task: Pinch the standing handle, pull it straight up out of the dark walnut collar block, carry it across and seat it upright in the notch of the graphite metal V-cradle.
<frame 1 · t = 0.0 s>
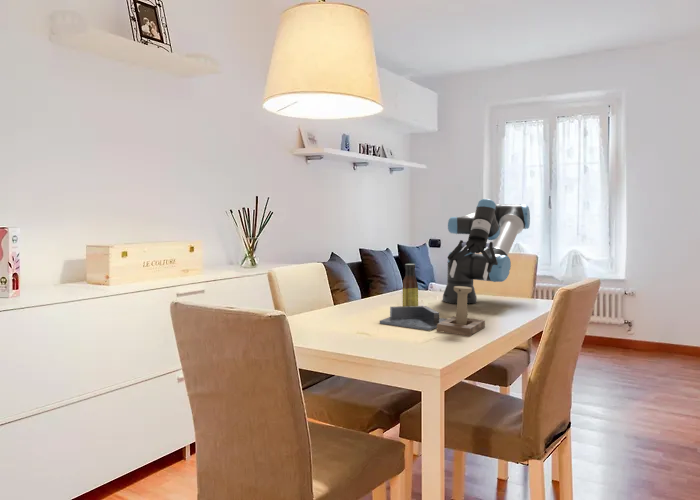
hand: (467, 277, 226), 15 cm above the table, tool tilted 35°, fingers open, 13 cm apart
sauce bottle: (409, 313, 230), on the table
walnut collar: (461, 329, 203), on the table
v cradle: (414, 322, 212), on the table
handle: (461, 329, 203), resting in walnut collar
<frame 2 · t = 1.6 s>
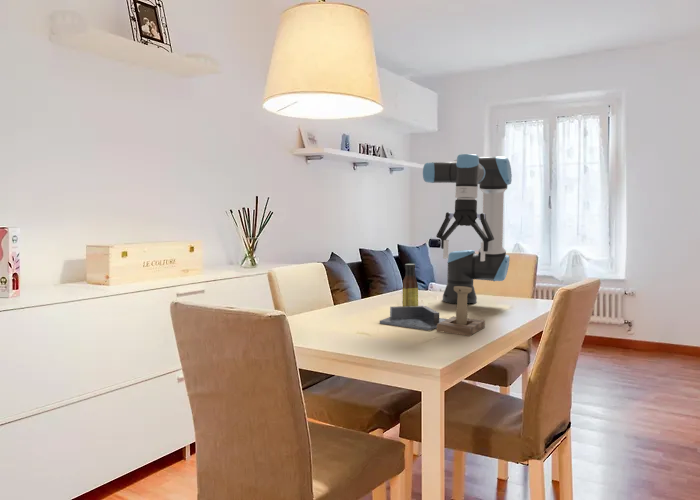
hand: (463, 259, 201), 25 cm above the table, tool pointing down, fingers open, 13 cm apart
nothing on the table moved.
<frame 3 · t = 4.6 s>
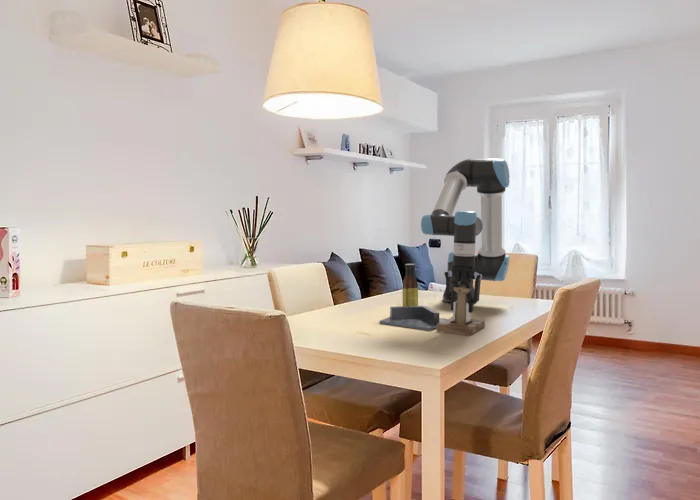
hand: (461, 320, 203), 3 cm above the table, tool pointing down, fingers closed on handle, 4 cm apart
handle: (461, 329, 203), resting in walnut collar, touching gripper
everything else where it was.
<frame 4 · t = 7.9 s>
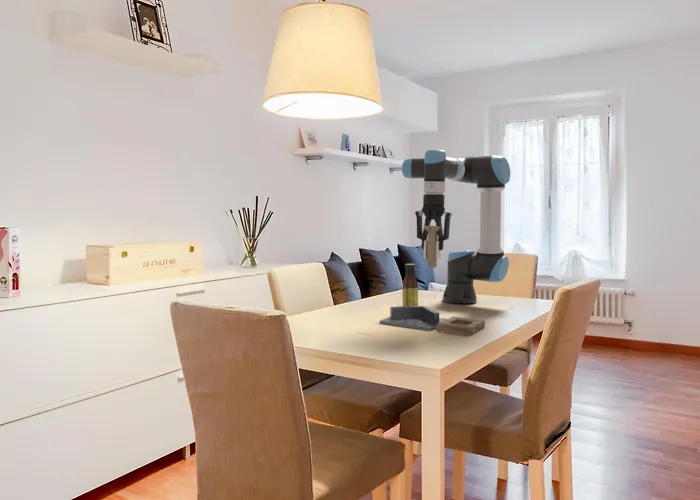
hand: (432, 258, 207), 24 cm above the table, tool pointing down, fingers closed on handle, 4 cm apart
handle: (431, 267, 207), point 21 cm above the table, touching gripper
everything else where it was.
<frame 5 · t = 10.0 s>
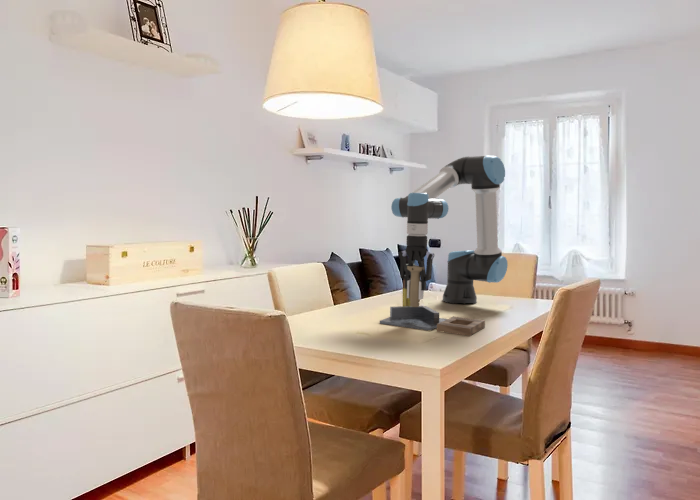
hand: (415, 298, 211), 9 cm above the table, tool pointing down, fingers closed on handle, 4 cm apart
handle: (414, 307, 211), point 6 cm above the table, touching gripper
everything else where it was.
when the fingers open (6 cm above the table, at t = 11.3 s): handle drops 1 cm, resting on v cradle.
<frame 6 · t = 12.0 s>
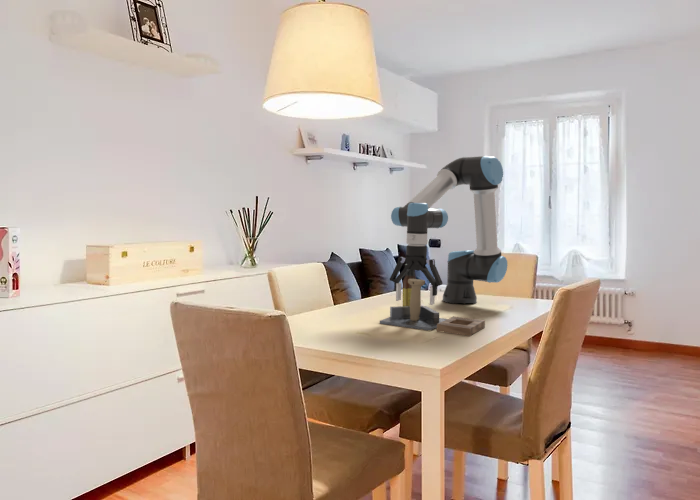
hand: (414, 302, 211), 8 cm above the table, tool pointing down, fingers open, 13 cm apart
handle: (414, 320, 212), point 1 cm above the table, touching v cradle
everything else where it was.
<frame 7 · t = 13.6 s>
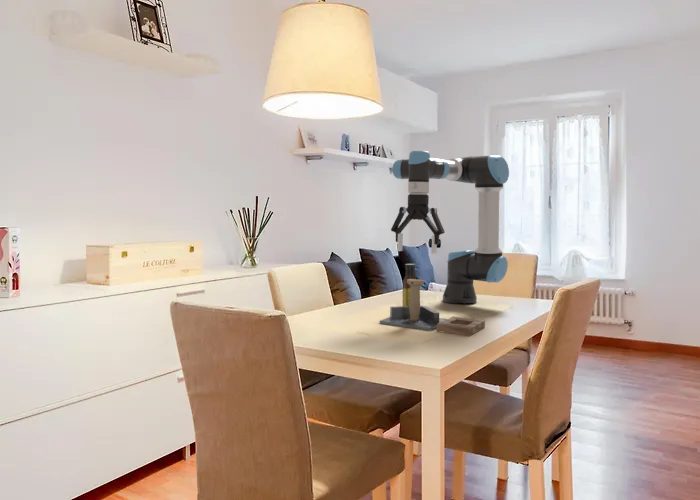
hand: (416, 252, 210), 26 cm above the table, tool pointing down, fingers open, 13 cm apart
nothing on the table moved.
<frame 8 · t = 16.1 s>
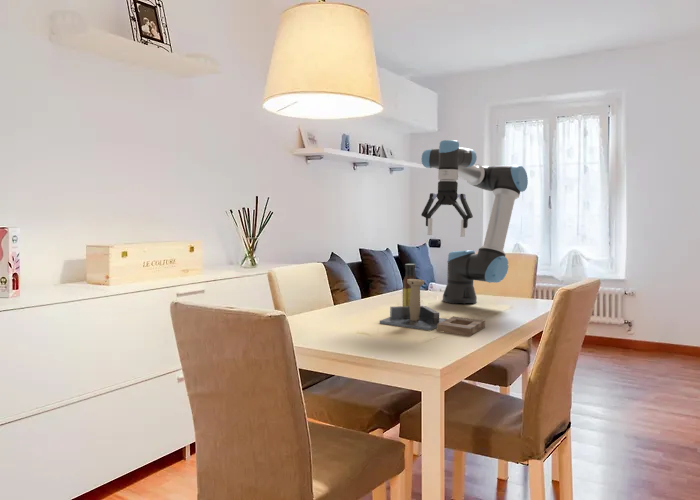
hand: (445, 235, 223), 32 cm above the table, tool pointing down, fingers open, 13 cm apart
nothing on the table moved.
at the end: handle inside the target area on the v cradle (0.2 cm from its centre), point 0.8 cm above the v cradle's base; handle tilted 0°; the gripper is holding nothing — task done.
